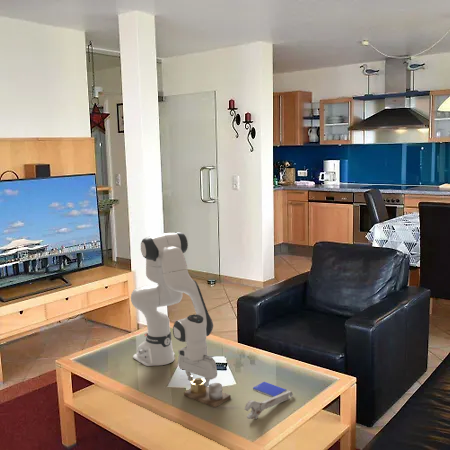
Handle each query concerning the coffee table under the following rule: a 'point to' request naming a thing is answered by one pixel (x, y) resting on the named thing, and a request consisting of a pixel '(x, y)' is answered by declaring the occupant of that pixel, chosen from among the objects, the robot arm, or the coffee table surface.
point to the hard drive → (269, 389)
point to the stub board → (206, 397)
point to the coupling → (197, 387)
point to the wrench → (265, 404)
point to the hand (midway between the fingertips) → (198, 383)
